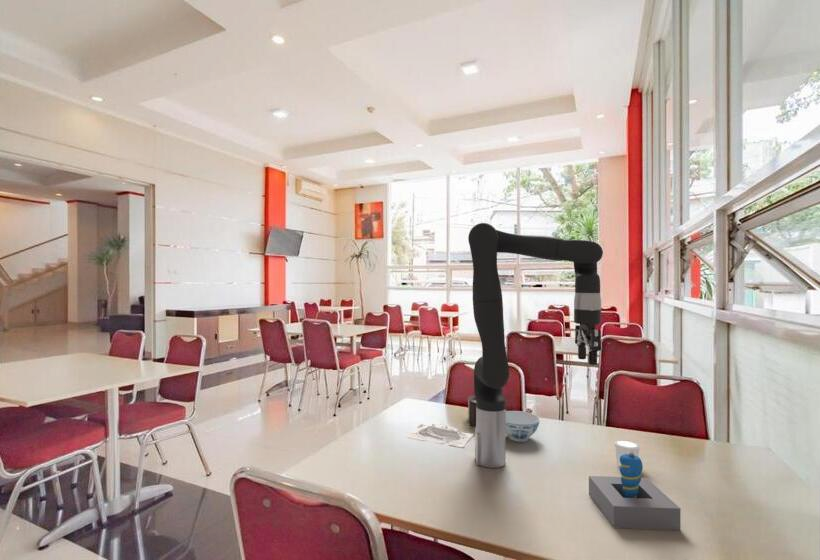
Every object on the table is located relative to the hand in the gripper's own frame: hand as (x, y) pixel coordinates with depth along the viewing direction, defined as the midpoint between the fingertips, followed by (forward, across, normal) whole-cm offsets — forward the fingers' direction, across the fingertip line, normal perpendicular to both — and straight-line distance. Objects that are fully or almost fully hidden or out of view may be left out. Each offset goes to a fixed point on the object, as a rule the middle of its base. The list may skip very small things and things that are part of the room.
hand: (587, 361), depth 123 cm
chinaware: (+33, -26, -15) cm, 45 cm away
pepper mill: (+33, -45, -26) cm, 62 cm away
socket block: (+33, +21, +3) cm, 39 cm away
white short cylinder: (+33, -5, +14) cm, 36 cm away
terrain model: (+34, -26, -43) cm, 61 cm away
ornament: (+33, +20, +3) cm, 39 cm away
